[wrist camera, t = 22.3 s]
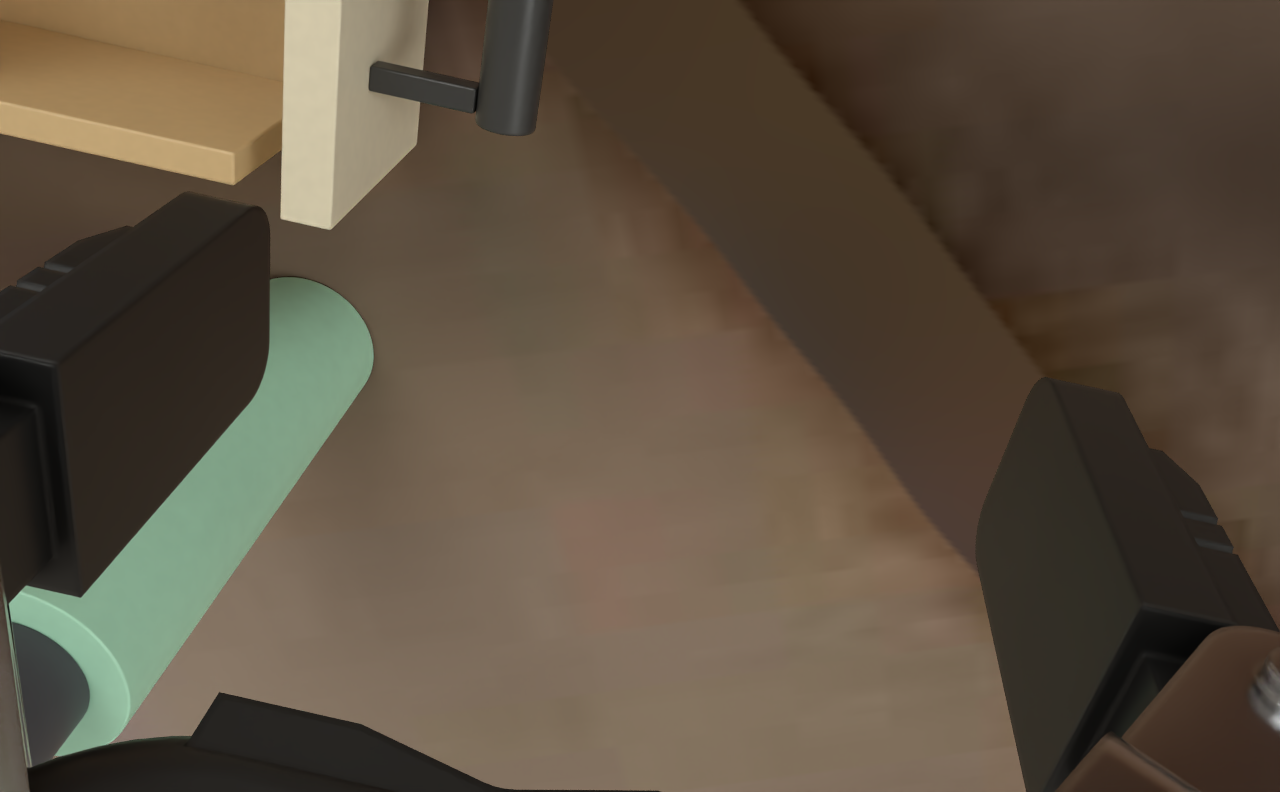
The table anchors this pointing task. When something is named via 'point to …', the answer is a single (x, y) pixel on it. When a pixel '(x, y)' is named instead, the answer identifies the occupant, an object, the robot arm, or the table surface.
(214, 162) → the drawer
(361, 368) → the bottle
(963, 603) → the table surface
